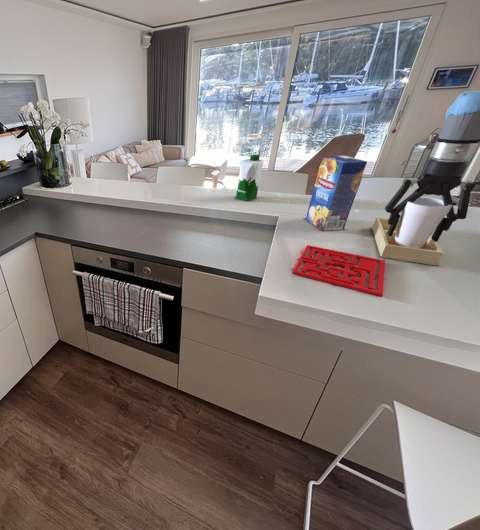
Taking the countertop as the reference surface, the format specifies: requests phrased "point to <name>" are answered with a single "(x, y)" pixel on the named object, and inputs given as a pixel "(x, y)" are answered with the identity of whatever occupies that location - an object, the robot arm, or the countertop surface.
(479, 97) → the robot arm
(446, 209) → the foam cup
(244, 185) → the milk carton
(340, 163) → the juice carton
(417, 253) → the divided tray
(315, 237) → the countertop surface
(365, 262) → the maze puzzle
